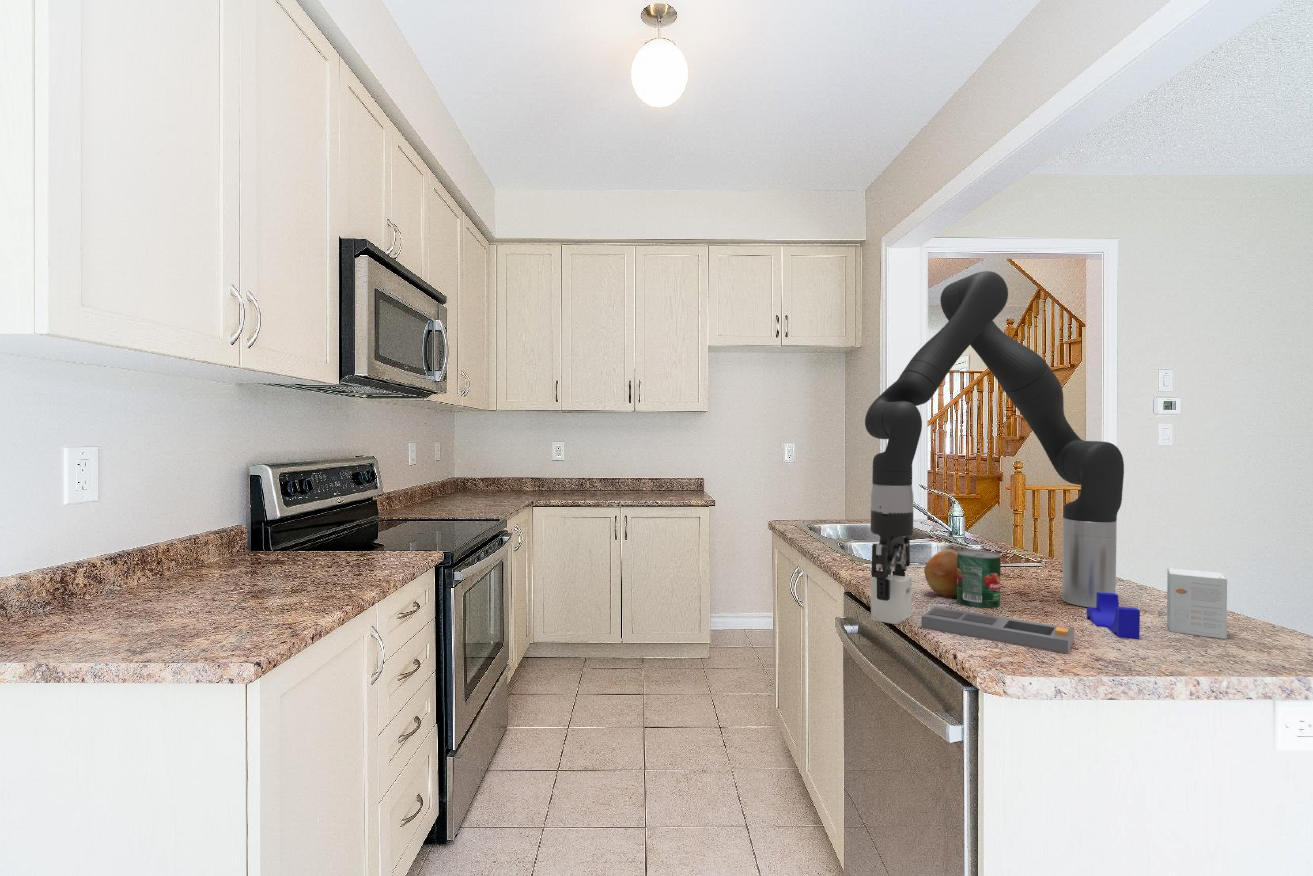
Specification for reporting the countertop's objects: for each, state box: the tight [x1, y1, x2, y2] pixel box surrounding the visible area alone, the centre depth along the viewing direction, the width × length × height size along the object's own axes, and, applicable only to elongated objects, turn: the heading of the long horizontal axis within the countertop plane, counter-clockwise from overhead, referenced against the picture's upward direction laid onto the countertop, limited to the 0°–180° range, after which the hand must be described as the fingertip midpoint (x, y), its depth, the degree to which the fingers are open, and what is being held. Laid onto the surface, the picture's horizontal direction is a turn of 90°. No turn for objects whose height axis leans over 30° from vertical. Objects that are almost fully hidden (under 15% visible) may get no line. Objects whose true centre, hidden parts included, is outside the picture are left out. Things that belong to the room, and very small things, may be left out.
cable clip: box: [1086, 592, 1141, 640], centre depth 118 cm, size 12×4×6 cm, turn 162°
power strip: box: [921, 606, 1075, 655], centre depth 114 cm, size 8×22×4 cm, turn 52°
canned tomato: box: [956, 549, 1002, 609], centre depth 134 cm, size 8×8×11 cm
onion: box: [923, 548, 958, 599], centre depth 143 cm, size 10×10×10 cm
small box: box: [1166, 567, 1228, 640], centre depth 119 cm, size 8×6×10 cm
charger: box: [870, 574, 912, 625], centre depth 126 cm, size 4×6×8 cm
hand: (891, 595), depth 126 cm, fingers open, 8 cm apart
